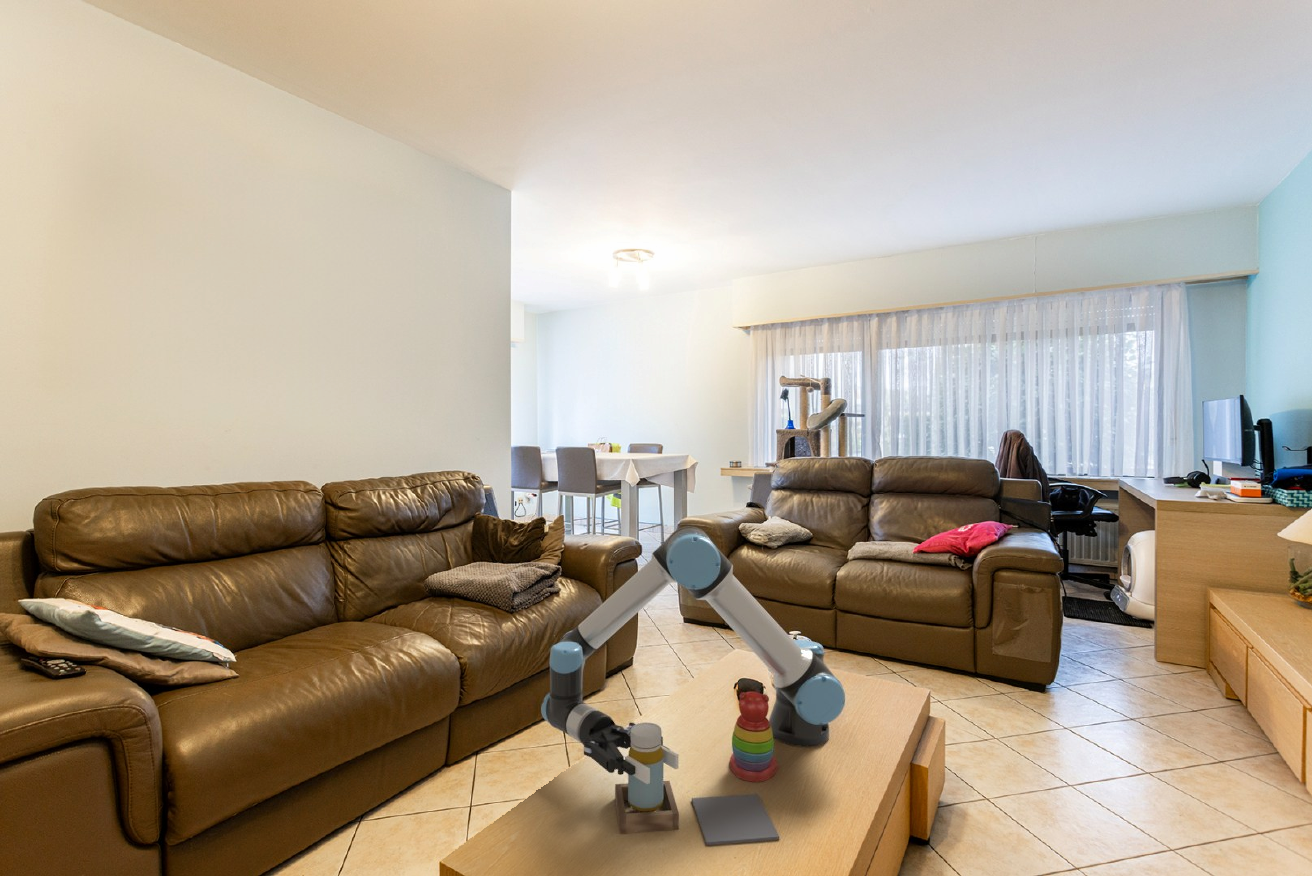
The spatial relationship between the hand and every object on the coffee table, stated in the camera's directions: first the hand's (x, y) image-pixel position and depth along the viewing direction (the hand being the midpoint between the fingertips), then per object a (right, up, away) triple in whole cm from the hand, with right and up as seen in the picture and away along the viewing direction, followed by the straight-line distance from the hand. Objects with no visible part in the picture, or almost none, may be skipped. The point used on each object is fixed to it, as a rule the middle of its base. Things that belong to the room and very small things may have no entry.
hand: (663, 769), depth 122 cm
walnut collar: (-3, -11, +4) cm, 12 cm away
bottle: (-3, -9, +4) cm, 10 cm away
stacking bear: (+21, -11, +20) cm, 31 cm away
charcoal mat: (+14, -11, +2) cm, 18 cm away
